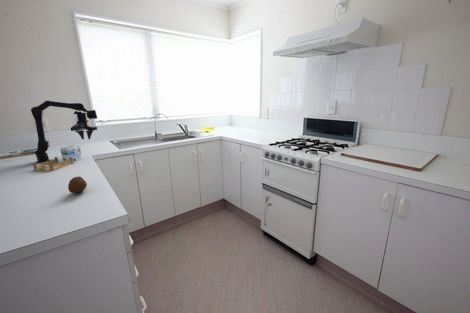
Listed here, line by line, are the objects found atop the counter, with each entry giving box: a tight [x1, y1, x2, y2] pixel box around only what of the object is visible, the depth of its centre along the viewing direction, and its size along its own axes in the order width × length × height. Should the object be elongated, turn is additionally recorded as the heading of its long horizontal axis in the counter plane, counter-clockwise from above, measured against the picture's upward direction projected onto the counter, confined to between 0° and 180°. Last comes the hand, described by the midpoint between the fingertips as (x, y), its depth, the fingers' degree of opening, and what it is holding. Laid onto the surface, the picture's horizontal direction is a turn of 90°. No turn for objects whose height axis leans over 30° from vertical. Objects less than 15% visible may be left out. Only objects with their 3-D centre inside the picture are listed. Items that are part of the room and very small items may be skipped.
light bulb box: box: [59, 144, 83, 163], centre depth 164 cm, size 11×7×11 cm, turn 168°
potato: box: [67, 176, 88, 194], centre depth 107 cm, size 7×10×8 cm
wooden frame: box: [32, 156, 74, 172], centre depth 150 cm, size 13×16×5 cm
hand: (86, 139), depth 177 cm, fingers open, 5 cm apart
